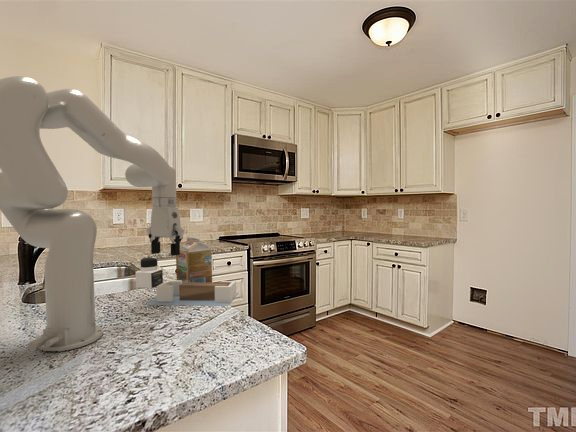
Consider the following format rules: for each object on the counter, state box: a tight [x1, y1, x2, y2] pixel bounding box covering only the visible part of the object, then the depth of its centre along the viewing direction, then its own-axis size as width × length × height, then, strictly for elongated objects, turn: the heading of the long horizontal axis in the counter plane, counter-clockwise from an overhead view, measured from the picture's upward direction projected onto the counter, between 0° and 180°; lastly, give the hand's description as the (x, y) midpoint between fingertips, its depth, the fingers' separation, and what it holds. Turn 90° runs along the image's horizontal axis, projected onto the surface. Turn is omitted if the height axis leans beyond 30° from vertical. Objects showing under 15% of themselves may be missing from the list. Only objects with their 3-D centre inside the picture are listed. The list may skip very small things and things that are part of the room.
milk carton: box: [175, 236, 213, 283], centre depth 125 cm, size 11×10×19 cm
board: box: [144, 292, 239, 307], centre depth 101 cm, size 14×27×1 cm, turn 86°
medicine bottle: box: [135, 256, 164, 289], centre depth 119 cm, size 7×7×12 cm
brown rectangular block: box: [179, 282, 230, 300], centre depth 101 cm, size 4×16×5 cm, turn 86°
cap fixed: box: [215, 280, 237, 303], centre depth 100 cm, size 7×5×5 cm
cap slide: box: [155, 279, 182, 302], centre depth 102 cm, size 8×5×5 cm, turn 176°
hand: (165, 254), depth 101 cm, fingers open, 9 cm apart
